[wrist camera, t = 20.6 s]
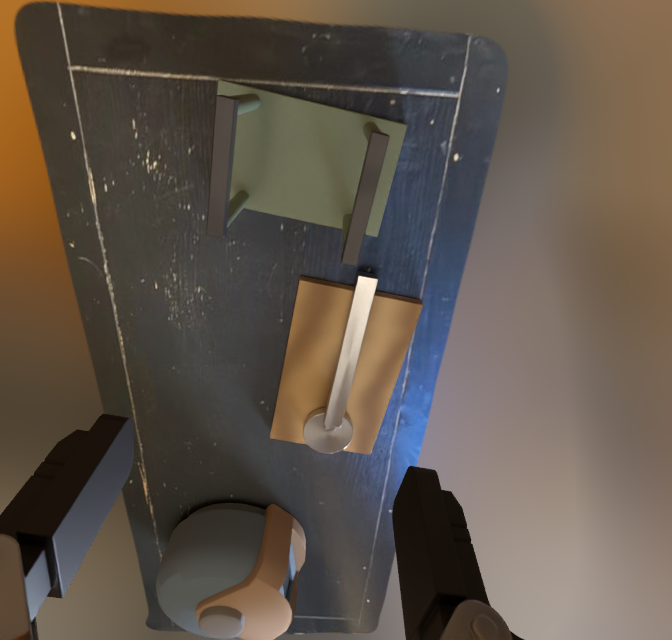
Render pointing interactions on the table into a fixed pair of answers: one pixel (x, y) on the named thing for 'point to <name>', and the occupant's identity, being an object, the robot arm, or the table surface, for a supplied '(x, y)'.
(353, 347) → the ladle
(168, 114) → the table surface
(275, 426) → the board
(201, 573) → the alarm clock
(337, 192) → the rack
